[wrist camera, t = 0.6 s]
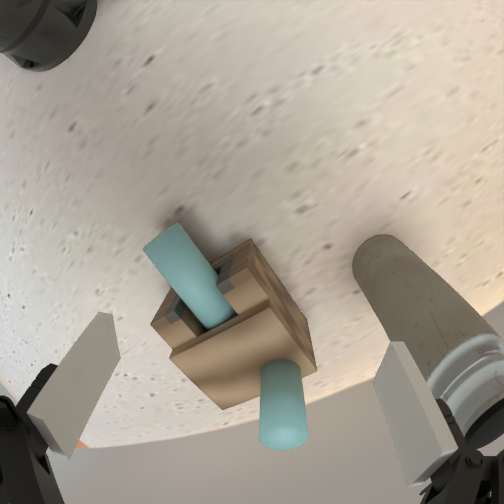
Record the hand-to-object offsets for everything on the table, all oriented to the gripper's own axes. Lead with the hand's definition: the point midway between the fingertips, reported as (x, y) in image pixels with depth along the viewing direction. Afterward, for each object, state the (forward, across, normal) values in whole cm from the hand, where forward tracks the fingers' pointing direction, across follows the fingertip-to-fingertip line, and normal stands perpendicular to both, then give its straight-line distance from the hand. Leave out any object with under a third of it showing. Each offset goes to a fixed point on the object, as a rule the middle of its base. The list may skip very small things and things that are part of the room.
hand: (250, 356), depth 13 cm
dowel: (+14, +4, -14) cm, 21 cm away
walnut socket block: (+25, -1, -13) cm, 28 cm away
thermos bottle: (+25, +17, -4) cm, 30 cm away
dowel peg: (+21, -6, -7) cm, 23 cm away
